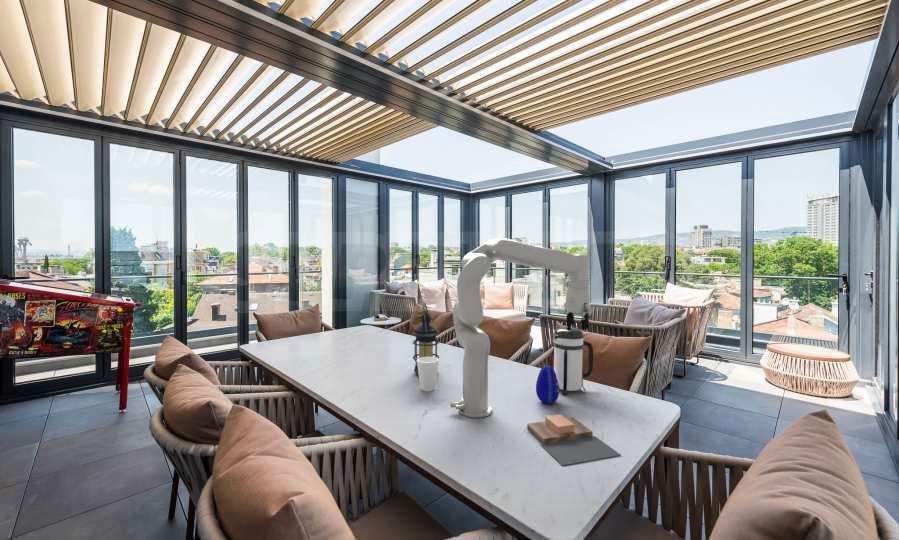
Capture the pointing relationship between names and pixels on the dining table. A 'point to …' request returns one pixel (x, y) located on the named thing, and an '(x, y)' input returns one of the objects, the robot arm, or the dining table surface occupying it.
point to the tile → (559, 424)
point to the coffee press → (570, 358)
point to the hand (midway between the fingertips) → (577, 326)
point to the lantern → (425, 338)
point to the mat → (579, 450)
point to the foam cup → (427, 372)
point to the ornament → (547, 385)
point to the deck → (551, 436)
